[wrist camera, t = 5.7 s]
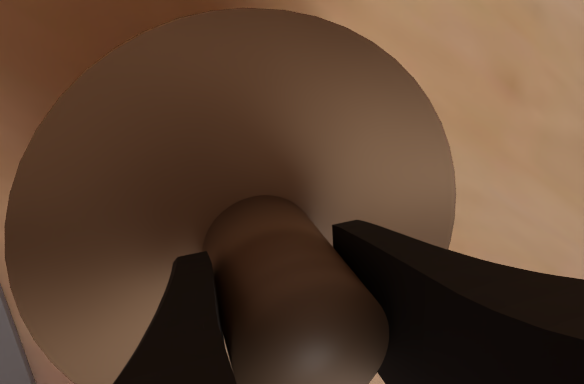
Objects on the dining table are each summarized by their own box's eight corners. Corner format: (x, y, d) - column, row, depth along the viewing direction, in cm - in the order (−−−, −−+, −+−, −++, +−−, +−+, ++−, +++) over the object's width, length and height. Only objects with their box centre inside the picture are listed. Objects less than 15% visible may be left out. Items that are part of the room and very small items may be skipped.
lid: (423, 361, 16) (526, 489, 12) (62, 448, 13) (28, 660, 9) (462, 4, 12) (642, 4, 8) (-49, 12, 9) (-211, 20, 5)
